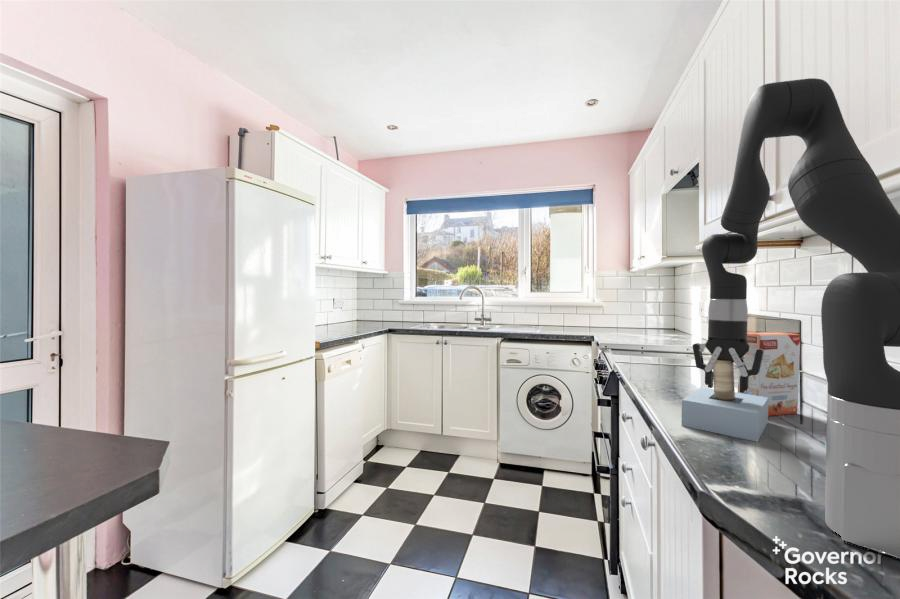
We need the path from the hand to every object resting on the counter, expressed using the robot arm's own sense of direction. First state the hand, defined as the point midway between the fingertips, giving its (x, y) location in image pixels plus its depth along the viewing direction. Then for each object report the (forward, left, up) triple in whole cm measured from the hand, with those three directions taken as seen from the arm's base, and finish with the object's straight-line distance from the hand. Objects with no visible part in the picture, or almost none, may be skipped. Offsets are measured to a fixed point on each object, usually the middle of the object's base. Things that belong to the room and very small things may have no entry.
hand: (726, 389), depth 92 cm
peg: (0, 0, -7) cm, 7 cm away
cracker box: (+19, -6, -8) cm, 22 cm away
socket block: (0, 0, -8) cm, 8 cm away
